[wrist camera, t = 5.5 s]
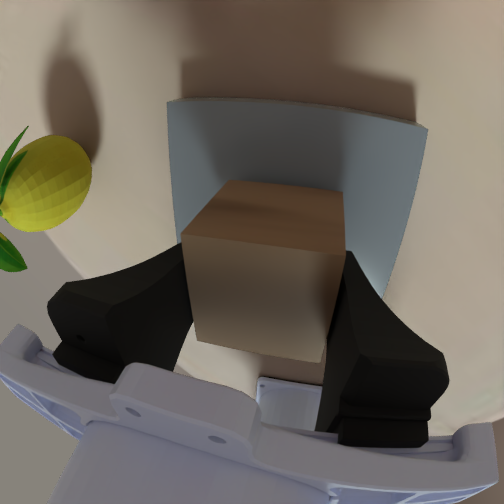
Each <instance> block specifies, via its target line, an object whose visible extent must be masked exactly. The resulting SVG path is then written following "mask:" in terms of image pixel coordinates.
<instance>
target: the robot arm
mask: <svg viewBox="0 0 504 504" xmlns="http://www.w3.org/2000/svg"><path fill="white" fill-rule="evenodd" d="M47 309H48V314H49V317H50V319H51V321H52V323H53V325H54V327H55V329H56V331H57V333H58V334H59V336H60V338H61V340H62V342H61V343H60V345H59V346H58V347H57V348H56V350H55V351H52V350H50V349H48V348H45V347H44V346H43V345H42V342H41V341H40V339H39V337H38V336H37V335H36V334H35V333H34V332H33V331H32V330H30V329H28V328H26V327H24V326H22V325H20V324H17V325H16V326H15V328H14V329H13V330H12V331H11V332H10V333H9V334H8V336H7V337H6V338H5V339H4V340H3V342H2V343H1V344H0V379H1V380H2V381H3V382H4V383H5V385H6V386H7V387H8V388H9V389H10V390H11V392H12V393H13V394H14V395H15V396H16V397H18V398H19V399H20V400H22V401H23V402H24V403H26V404H27V405H28V406H30V407H31V408H32V409H34V410H35V411H37V412H38V413H39V414H41V415H42V416H43V417H45V418H46V419H48V420H49V421H51V422H52V423H53V424H55V425H56V426H58V427H59V428H61V429H62V430H64V431H65V432H67V433H68V434H70V435H71V436H73V437H75V438H76V439H78V440H79V443H78V445H77V446H76V448H75V450H74V452H73V454H72V456H71V457H70V459H69V461H68V463H67V465H66V467H65V469H64V471H63V472H62V474H61V477H60V478H59V480H58V482H57V484H56V486H55V488H54V490H53V492H52V494H51V496H50V498H49V500H48V502H47V504H451V503H456V502H460V501H462V500H464V499H466V498H468V497H470V496H473V495H475V494H477V493H479V492H481V491H483V490H485V489H486V488H488V487H490V486H492V485H494V484H496V483H497V482H498V481H499V476H498V465H497V456H496V449H495V441H494V434H493V428H492V423H491V422H486V423H476V424H468V425H465V426H463V427H461V428H459V429H458V430H457V431H456V432H455V433H454V434H453V435H449V436H430V437H429V436H428V422H427V421H429V420H430V419H431V410H430V408H431V407H432V406H433V405H434V403H435V402H436V401H437V400H438V399H439V398H440V397H441V396H442V394H443V393H444V392H445V390H446V389H447V387H448V385H449V375H448V370H447V365H446V361H445V358H444V355H443V353H442V352H440V351H439V350H437V349H436V348H434V347H433V346H432V345H430V344H429V343H427V342H426V341H424V340H423V339H422V338H420V337H419V336H418V335H417V334H415V333H414V332H413V331H412V330H411V329H410V328H408V327H407V326H406V325H405V324H404V323H403V322H402V321H401V320H400V319H399V318H398V317H397V316H396V315H395V314H394V313H393V312H392V311H391V310H390V308H389V307H388V306H387V305H386V304H385V303H384V301H383V300H382V299H381V298H380V296H379V295H378V294H377V292H376V291H375V289H374V288H373V286H372V285H371V283H370V282H369V280H368V279H367V277H366V275H365V274H364V272H363V270H362V268H361V267H360V265H359V263H358V261H357V259H356V258H355V256H354V254H353V252H352V251H349V250H346V258H345V263H344V268H343V272H342V277H341V282H340V286H339V290H338V295H337V299H336V303H335V308H334V312H333V316H332V320H331V324H330V328H329V332H328V335H327V353H326V365H325V372H324V379H323V386H315V385H308V384H301V383H295V382H289V381H283V380H277V379H272V378H266V377H260V378H258V381H257V393H256V401H255V400H254V399H252V398H251V397H249V396H248V395H247V394H245V393H244V392H242V391H239V390H236V389H233V388H230V387H228V386H224V385H220V384H216V383H212V382H208V381H204V380H200V379H197V378H193V377H189V376H186V375H182V374H179V373H175V372H173V370H174V367H175V364H176V362H177V359H178V356H179V353H180V351H181V348H182V346H183V343H184V341H185V338H186V336H187V333H188V331H189V329H190V327H191V325H192V323H193V321H194V320H193V315H192V309H191V303H190V297H189V291H188V284H187V278H186V271H185V264H184V257H183V250H182V243H181V242H180V243H178V244H177V245H175V246H173V247H172V248H170V249H168V250H166V251H164V252H162V253H160V254H158V255H157V256H155V257H153V258H151V259H148V260H146V261H144V262H142V263H139V264H137V265H135V266H132V267H129V268H126V269H123V270H120V271H117V272H114V273H111V274H107V275H104V276H100V277H95V278H91V279H85V280H79V281H72V282H66V283H65V284H64V285H63V286H62V287H61V288H60V289H59V290H58V292H56V294H55V295H54V296H53V297H52V298H51V299H50V300H49V301H48V305H47Z"/></svg>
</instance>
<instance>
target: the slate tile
mask: <svg viewBox="0 0 504 504" xmlns="http://www.w3.org/2000/svg"><path fill="white" fill-rule="evenodd" d="M167 121H168V141H169V158H170V172H171V185H172V196H173V207H174V217H175V227H176V236H177V244H178V243H180V242H181V235H180V234H181V232H182V231H183V230H184V229H185V228H186V227H187V226H188V224H189V223H190V222H191V221H192V220H193V219H194V218H195V216H196V215H197V214H198V213H199V212H200V211H201V210H202V209H203V208H204V206H205V205H206V204H207V203H208V202H209V201H210V200H211V199H212V198H213V196H214V195H215V194H216V193H217V192H218V191H219V190H220V189H221V188H222V187H223V186H224V185H225V183H226V182H227V181H228V180H240V181H252V182H263V183H273V184H283V185H292V186H301V187H309V188H318V189H325V190H333V191H340V192H343V202H344V219H345V242H346V250H349V251H352V252H353V254H354V256H355V258H356V259H357V261H358V263H359V265H360V267H361V268H362V270H363V272H364V274H365V275H366V277H367V279H368V280H369V282H370V283H371V285H372V286H373V288H374V289H375V291H376V292H377V294H378V295H379V296H380V298H381V299H382V297H383V295H384V292H385V289H386V286H387V284H388V281H389V278H390V275H391V272H392V269H393V266H394V263H395V260H396V257H397V254H398V251H399V248H400V245H401V242H402V238H403V235H404V232H405V228H406V225H407V221H408V218H409V214H410V210H411V207H412V203H413V199H414V195H415V191H416V187H417V182H418V178H419V174H420V169H421V165H422V160H423V155H424V150H425V144H426V139H427V133H428V129H427V128H425V127H424V126H422V125H420V124H419V123H417V122H413V121H409V120H405V119H401V118H396V117H392V116H387V115H382V114H377V113H372V112H367V111H361V110H356V109H350V108H343V107H337V106H330V105H322V104H314V103H305V102H296V101H285V100H272V99H255V98H223V97H200V98H182V99H177V100H173V101H169V102H167Z"/></svg>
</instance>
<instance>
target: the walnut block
mask: <svg viewBox="0 0 504 504" xmlns="http://www.w3.org/2000/svg"><path fill="white" fill-rule="evenodd" d="M180 235H181V243H182V250H183V257H184V264H185V271H186V278H187V284H188V291H189V297H190V303H191V309H192V315H193V320H194V326H195V332H196V337H197V341H201V342H205V343H210V344H214V345H219V346H223V347H228V348H233V349H238V350H243V351H248V352H253V353H258V354H264V355H269V356H275V357H281V358H287V359H293V360H300V361H306V362H313V363H320V361H321V357H322V354H323V350H324V347H325V343H326V339H327V335H328V332H329V328H330V324H331V320H332V316H333V312H334V308H335V303H336V299H337V295H338V290H339V286H340V282H341V277H342V272H343V268H344V263H345V258H346V242H345V219H344V202H343V192H340V191H333V190H325V189H318V188H309V187H301V186H292V185H283V184H273V183H263V182H252V181H240V180H228V181H227V182H226V183H225V185H224V186H223V187H222V188H221V189H220V190H219V191H218V192H217V193H216V194H215V195H214V196H213V198H212V199H211V200H210V201H209V202H208V203H207V204H206V205H205V206H204V208H203V209H202V210H201V211H200V212H199V213H198V214H197V215H196V216H195V218H194V219H193V220H192V221H191V222H190V223H189V224H188V226H187V227H186V228H185V229H184V230H183V231H182V232H181V234H180Z"/></svg>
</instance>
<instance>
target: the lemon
mask: <svg viewBox="0 0 504 504" xmlns="http://www.w3.org/2000/svg"><path fill="white" fill-rule="evenodd" d="M28 127H29V126H27V127H26V128H25V130H24V131H23V132H22V133H21V134H20V135H19V136H18V137H17V138H16V139H15V140H14V142H13V143H12V144H11V146H10V147H9V148H8V150H7V151H6V153H5V154H4V156H3V158H2V160H1V162H0V216H1V217H3V218H4V219H5V220H6V221H7V222H8V223H9V224H10V225H12V226H13V227H14V228H17V229H19V230H22V231H25V232H36V231H44V230H48V229H51V228H53V227H56V226H58V225H59V224H61V223H63V222H64V221H65V220H67V219H68V218H69V217H70V216H71V215H73V214H74V213H75V212H76V211H77V210H78V209H79V208H80V206H81V205H82V203H83V201H84V199H85V197H86V195H87V193H88V191H89V188H90V184H91V178H92V167H91V163H90V160H89V158H88V156H87V154H86V152H85V151H84V149H83V148H82V147H81V146H80V145H79V144H78V143H76V142H75V141H73V140H71V139H70V138H68V137H64V136H58V135H48V136H45V137H42V138H39V139H37V140H35V141H33V142H31V143H29V144H27V145H26V146H24V147H23V148H22V149H20V150H19V151H18V152H17V153H16V154H15V155H14V156H13V157H12V154H13V152H14V150H15V148H16V146H17V145H18V143H19V141H20V139H21V138H22V136H23V134H24V133H25V131H26V130H27V128H28ZM11 157H12V158H11ZM0 269H2V270H4V271H8V272H18V271H22V270H25V269H27V266H26V264H25V262H24V259H23V258H22V256H21V254H20V253H19V251H18V250H17V249H16V248H15V246H14V245H13V244H12V243H11V242H10V241H9V240H8V239H7V238H6V237H5V236H4V235H3V234H2V233H0Z"/></svg>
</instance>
